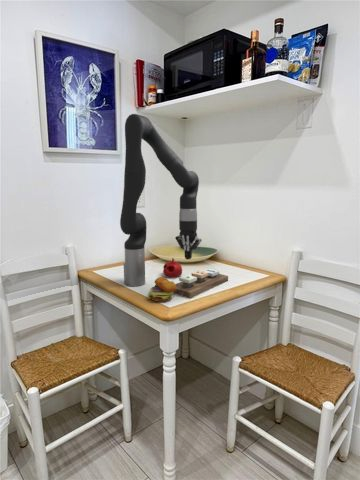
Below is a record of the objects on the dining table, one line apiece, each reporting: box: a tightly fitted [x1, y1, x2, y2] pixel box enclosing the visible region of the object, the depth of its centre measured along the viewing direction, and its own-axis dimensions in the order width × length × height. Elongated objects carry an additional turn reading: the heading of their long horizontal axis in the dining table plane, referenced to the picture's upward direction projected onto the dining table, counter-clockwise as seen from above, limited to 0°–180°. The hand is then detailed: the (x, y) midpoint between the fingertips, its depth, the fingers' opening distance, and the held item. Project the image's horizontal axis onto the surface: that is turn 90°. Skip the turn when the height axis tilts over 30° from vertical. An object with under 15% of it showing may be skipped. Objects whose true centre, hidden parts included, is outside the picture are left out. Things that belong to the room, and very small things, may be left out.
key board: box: [173, 273, 229, 299], centre depth 153 cm, size 12×30×2 cm, turn 141°
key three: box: [203, 268, 220, 278], centre depth 160 cm, size 6×6×4 cm
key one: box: [178, 274, 197, 288], centre depth 146 cm, size 6×6×4 cm
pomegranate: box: [162, 257, 183, 279], centre depth 168 cm, size 10×10×9 cm
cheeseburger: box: [147, 276, 176, 303], centre depth 138 cm, size 10×11×10 cm
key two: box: [191, 270, 209, 283], centre depth 153 cm, size 6×6×4 cm
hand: (188, 258), depth 144 cm, fingers closed
